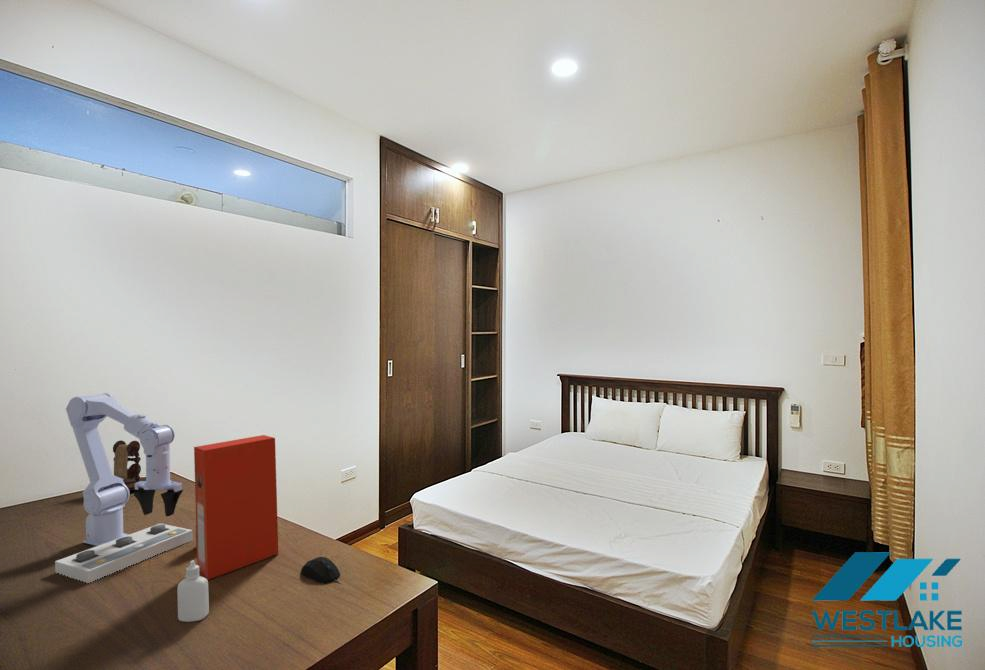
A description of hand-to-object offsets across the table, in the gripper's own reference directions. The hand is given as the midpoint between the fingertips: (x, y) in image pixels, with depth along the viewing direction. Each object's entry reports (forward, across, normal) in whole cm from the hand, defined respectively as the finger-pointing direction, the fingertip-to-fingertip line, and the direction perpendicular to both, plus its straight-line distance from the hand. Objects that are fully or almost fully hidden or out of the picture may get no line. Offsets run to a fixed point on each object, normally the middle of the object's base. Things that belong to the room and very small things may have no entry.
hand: (158, 514), depth 137 cm
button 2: (+6, -2, +2) cm, 7 cm away
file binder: (+9, +32, -7) cm, 34 cm away
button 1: (+6, -6, -16) cm, 18 cm away
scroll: (+9, -59, +42) cm, 73 cm away
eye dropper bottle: (+8, +41, -30) cm, 51 cm away
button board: (+9, -2, -8) cm, 12 cm away
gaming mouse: (+9, +59, -10) cm, 61 cm away
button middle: (+6, -4, -7) cm, 10 cm away
